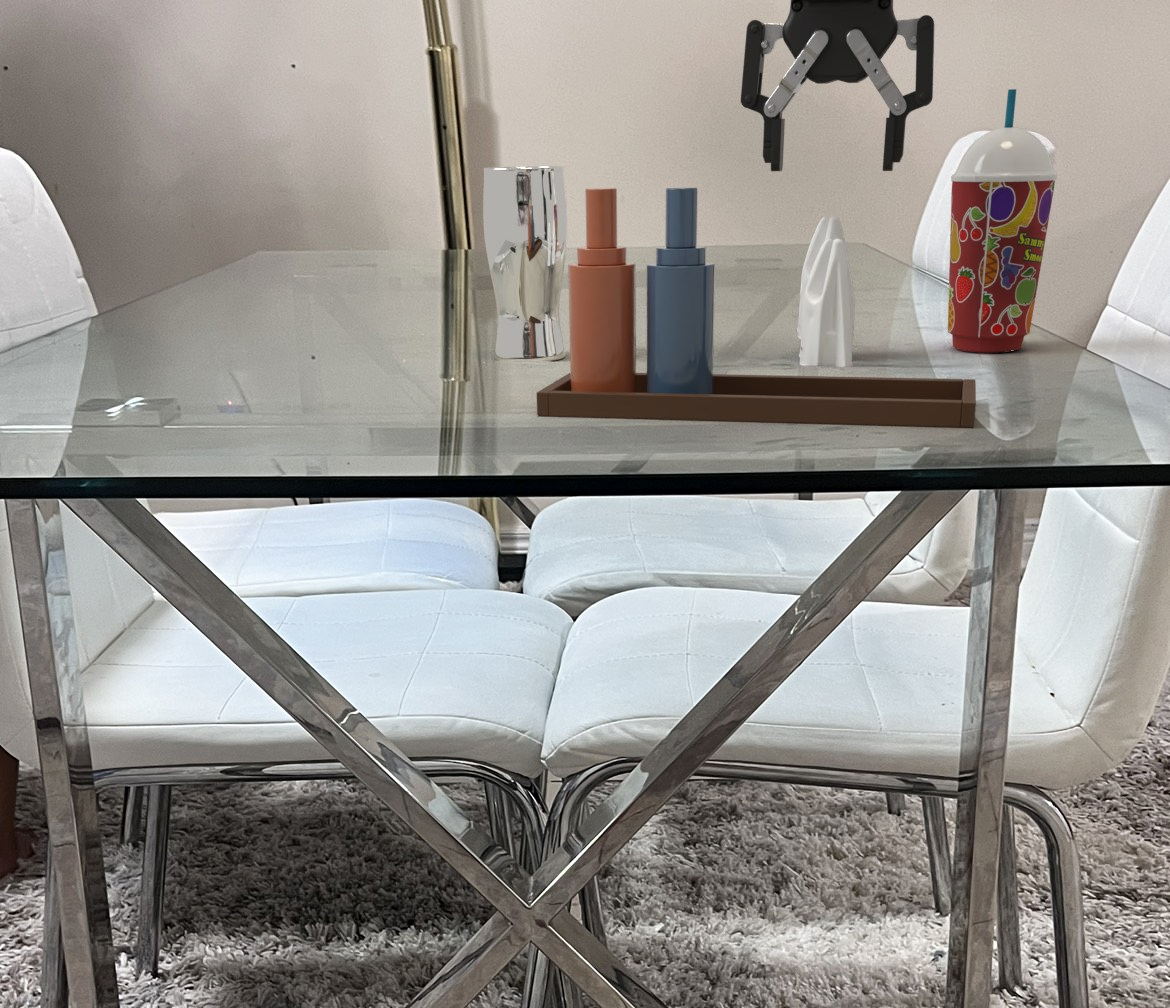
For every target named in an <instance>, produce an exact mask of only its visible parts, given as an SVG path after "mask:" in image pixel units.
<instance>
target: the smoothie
mask: <svg viewBox="0 0 1170 1008" xmlns="http://www.w3.org/2000/svg"><path fill="white" fill-rule="evenodd" d="M1016 97H1017V88H1012V89H1011V88H1010V89H1008V90H1007V98H1006V99H1007V100H1006V107H1005V118H1004V127H998V128H995V129H993V130H990V131H988V132H986V133H984V134H983V135H981V136H980V137H978V138H977V139H976V140H974V142H972V144H971V145H970V146H969V147H968V148H967V150H966V151H965V153H964V154H963V155H962V157H961V160H960V161H959V163H958V166H957V168H956V171H955V172H954V173H953V174H951V175H950V181H951V191H950V192H951V198H950V203H951V204H950V229H949V230H950V232H949V233H950V235H949V236H950V237H949V271H948V305H947V306H948V307H947V333H948V334H950V335H952V336H951V337H952V347H953V348H954V349H956V350H957V351H961V352H965V353H966V352H967V353H978V354H979V353H980V354H1000V353H999V352H1004V353H1006V352H1005V351H1011V350H1017V349H1019V350H1021V349H1022V346H1023V342H1024V339H1025V337H1026V336H1027V335H1030V333H1031V327H1032V321H1033V314H1034V309H1035V304H1036V298H1037V292H1038V286H1039V279H1040V275H1041V267H1042V261H1043V257H1044V256H1043V255H1044V251H1045V244H1046V238H1047V233H1048V227H1049V221H1050V215H1051V210H1052V203H1053V199H1054V198H1053V197H1054V191H1055V184H1056V181H1057V178H1058V173H1056V172H1055V171H1054V167H1053V162H1052V160H1051V157H1050V153H1049V152H1048V149H1047V148H1046V146H1045V145H1044V143H1043V142H1042V141H1041V140H1040V139H1039V138H1038V137H1037V136H1036V135H1035V134H1033V133H1031V132H1030V131H1028V130H1026V129H1023V128H1021V127H1017V126H1016V127H1014V119H1015V111H1016V110H1015V109H1016V108H1015V107H1016V99H1017V98H1016ZM1020 348H1021V349H1020ZM1017 351H1018V350H1017Z"/></svg>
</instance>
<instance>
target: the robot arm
mask: <svg viewBox="0 0 1170 1008" xmlns="http://www.w3.org/2000/svg"><path fill="white" fill-rule="evenodd" d="M789 5H790V7H789V12H788V15H787V18H786V20H785V21H784V23H769V22H762V21H760V20H758V19H752V20H750V21H749V22H748V23H747V26H746V33H745V45H744V54H743V55H744V57H743V66H742V68H743V69H742V80H741V89H740V90H741V92H740V103H741V106H742V107H744V108H745V109H748V110H751V111H753V112H756V113H758V114H759V115H761V117H762V119H763V138H762V139H763V140H762V157H763V161H764V163H765V164H770V172H783V167H784V150H785V149H784V148H785V147H784V146H785V127H786V126H785V124H786V119H785V118H783V112H784V111H785V110H786V109H787V107H788V106H789V104H790V103H791V102H792V100H793V99H794V98H795V96H796V95H797V94H798V92H799V91H800V90H801V89H802V88H803V86H804V85H805V84H806V82H807V81H808V80H809V81H811V82H812V83H815V84H817V85H820V84H821V85H823V84H824V85H825V84H831V83H834V82H837V81H840V82H843V83H846V84H859V83H861V82H863V81H864V80H866V79H867V78H869V79H870V81H871V82H872V84H873V86H874V87H875V89H876V91H877V92H878V93H879V95H880V96H881V98H882V100H883V101H884V103H885V104H886V106H887V107H888V109H889V110H888V111H889V112H888V113H889V114H888V117H885V130H884V143H883V145H884V146H883V159H882V172H893V171H894V163H901V160H902V159H903V156H904V149H905V148H904V147H905V135H906V125H907V124H906V123H907V118H908V116H909V114H910V113H912V112H913V111H916V110H919V109H921V108H923V107H927V106H929V105H930V104H931V103H932V100H933V97H934V96H933V95H934V66H935V65H934V63H935V61H934V60H935V59H934V58H935V29H936V27H935V26H936V25H935V21H934V18H933V17H932V16H931V15H929V14H924V15H922V16H920V17H919V18H918V17H917V18H909V19H897V18H896V16H895V10H894V0H790V4H789ZM898 36H901V37H903V38H904V40H905V45H906V47H907V49H908V50H909V51H912V52H914V51H915V90H913V91H912V92H909V93H907V94H904V95H903V94H902V91H900V89H899V88H898V86H897V84H896V82H895V81H894V79H893V77H892V76H891V74H890V72H889V71H888V70H887V68H886V66H885V65H884V63H883V62H882V61H881V60H882V59H883V58H884V55H885V54H886V53H887V52H888V50H889V49H890V48H891V46H892V44H893V43H894V42H895V40H896V39H897V37H898ZM781 39H782V40H783V42H784V44H785V46H786V47H787V49H788V50H789V52H790V54H791V55H792V57H793V58H794V62H792V64H791V66H790V67H789V68H788V70H787V71H786V73H785V74H784V75H783V77H782V78H781V80H780V82H779V84H778V85H777V87H775V90H774V91H773V92H772V94H771V95H770V97H769V96H767V95H764V94H762V87H763V76H764V66H765V56H766V55H770V54H772V53H773V52H774V49H775V46H776V43H777V42H778V41H779V40H781Z"/></svg>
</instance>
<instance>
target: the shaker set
mask: <svg viewBox="0 0 1170 1008" xmlns="http://www.w3.org/2000/svg"><path fill="white" fill-rule="evenodd" d="M847 250H848V249H847V243H846V239H845V234H844V229H843V225H842V222H841V219H840V218H839V217H838V216H835V215H833V216H827V215H826V216H823V217H821V219H820V220H819V222H818V223H817V226H816V228H815V231H814V233H813V235H812V238H811V240H810V243H809V246H808V249H807V252H806V255H805V258H804V262H803V266H802V269H801V276H800V289H799V291H800V292H799V306H798V323H797V327H796V332H797V338H798V339H799V340H800V348H799V349H800V350H799V353H798V357H799V365H800V366H802V367H803V366H804V367H841V368H849V367H853V349H854V335H855V334H854V333H855V317H856V295H855V289H854V284H853V279H852V272H851V267H850V261H849V256H848V255H849V254H848V251H847Z"/></svg>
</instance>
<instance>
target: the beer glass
mask: <svg viewBox="0 0 1170 1008" xmlns="http://www.w3.org/2000/svg"><path fill="white" fill-rule="evenodd" d="M564 169H565V167H564V166H563V165H534V166H533V165H532V166H531V165H530V166H529V165H527V166H525V165H524V166H493V167H491V166H490V167H484V168H483V187H482V225H483V239H484V246H485V252H486V258H487V263H488V269H489V273H490V278H491V283H492V287H493V288H492V289H493V294H494V298H495V303H496V313H497V327H496V337H495V344H494V351H493V352H494V356H493V357H494V359H495V360H497V361H521V362H522V361H524V362H526V361H527V362H553V361H558V360H562V359H564V358H565V357H566V348H565V343H564V337H563V333H562V326H561V316H560V313H561V312H560V311H561V309H560V306H561V295H562V286H563V280H564V279H563V278H564V272H565V265H566V258H567V257H566V256H567V247H568V204H567V193H566V192H567V191H566V185H565V184H566V183H565V182H566V181H565V171H564Z"/></svg>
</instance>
